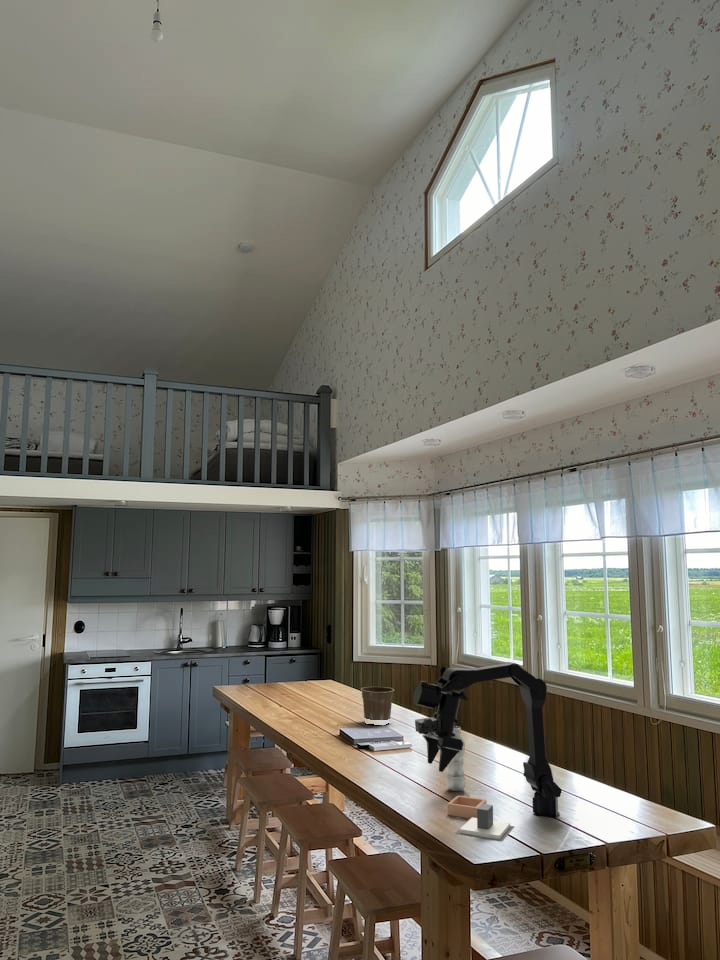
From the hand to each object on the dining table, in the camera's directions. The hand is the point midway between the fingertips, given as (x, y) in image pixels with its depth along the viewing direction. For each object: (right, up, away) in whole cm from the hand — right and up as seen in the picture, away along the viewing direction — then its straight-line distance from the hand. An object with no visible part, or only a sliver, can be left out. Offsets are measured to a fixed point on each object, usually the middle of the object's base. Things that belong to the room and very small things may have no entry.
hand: (435, 767), depth 207 cm
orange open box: (+10, -17, +6) cm, 21 cm away
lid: (+13, -14, -8) cm, 21 cm away
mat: (+13, -15, -8) cm, 21 cm away
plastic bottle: (+10, -20, +31) cm, 38 cm away
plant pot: (-13, -35, +139) cm, 144 cm away
